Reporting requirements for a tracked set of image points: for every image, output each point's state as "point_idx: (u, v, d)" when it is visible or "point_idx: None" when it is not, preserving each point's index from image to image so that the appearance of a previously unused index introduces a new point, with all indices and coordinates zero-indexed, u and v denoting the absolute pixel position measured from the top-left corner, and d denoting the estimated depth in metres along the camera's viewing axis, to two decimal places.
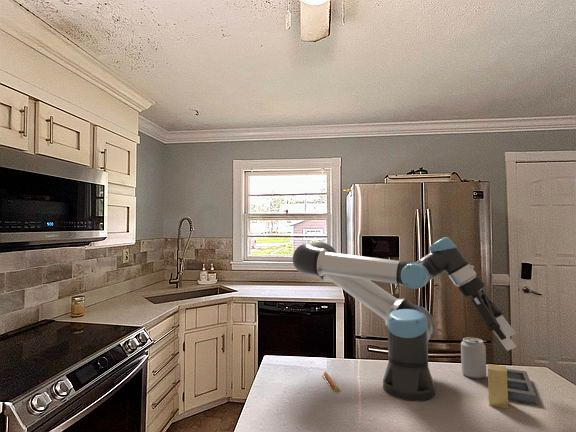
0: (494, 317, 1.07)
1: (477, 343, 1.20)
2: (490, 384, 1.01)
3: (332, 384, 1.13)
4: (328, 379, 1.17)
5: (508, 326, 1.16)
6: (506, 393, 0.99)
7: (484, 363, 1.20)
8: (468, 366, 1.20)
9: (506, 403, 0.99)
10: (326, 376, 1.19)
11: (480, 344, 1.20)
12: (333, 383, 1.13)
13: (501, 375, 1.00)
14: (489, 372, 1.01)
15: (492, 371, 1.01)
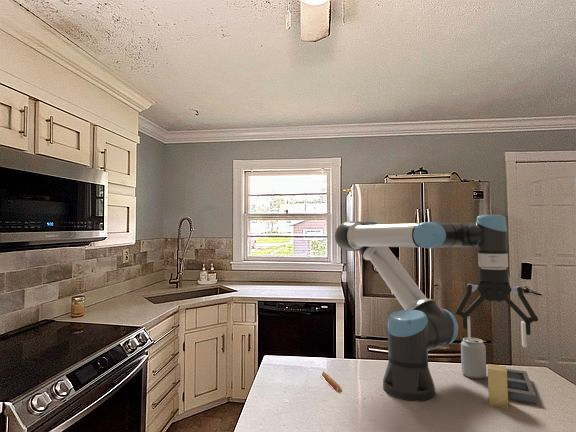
0: (470, 309, 1.05)
1: (477, 343, 1.20)
2: (490, 384, 1.01)
3: (333, 384, 1.13)
4: (328, 379, 1.17)
5: (522, 336, 0.99)
6: (506, 393, 0.99)
7: (484, 363, 1.20)
8: (468, 366, 1.20)
9: (506, 403, 0.99)
10: (325, 376, 1.19)
11: (480, 344, 1.20)
12: (335, 383, 1.13)
13: (501, 375, 1.00)
14: (489, 372, 1.01)
15: (492, 371, 1.01)
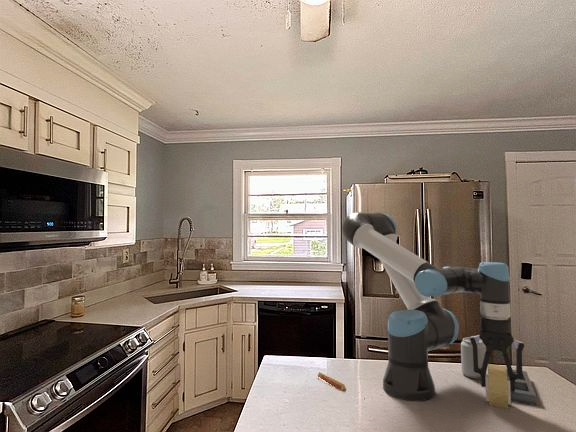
0: (484, 365, 1.03)
1: None
2: (490, 384, 1.01)
3: (336, 384, 1.13)
4: (327, 379, 1.17)
5: None
6: (506, 393, 0.99)
7: None
8: (468, 366, 1.20)
9: (506, 403, 0.99)
10: (323, 377, 1.19)
11: (480, 344, 1.20)
12: (337, 382, 1.13)
13: (501, 375, 1.00)
14: (489, 372, 1.01)
15: (492, 371, 1.01)
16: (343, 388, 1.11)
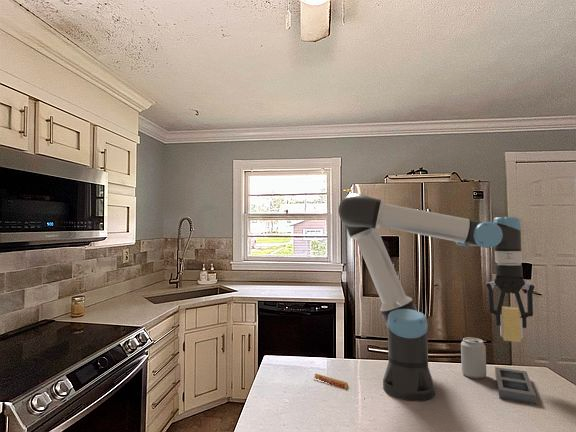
0: (499, 306, 1.17)
1: (477, 343, 1.20)
2: (504, 322, 1.16)
3: (338, 383, 1.14)
4: (327, 380, 1.16)
5: None
6: (519, 329, 1.14)
7: (484, 363, 1.20)
8: (468, 366, 1.20)
9: (519, 337, 1.14)
10: (321, 378, 1.18)
11: (480, 344, 1.20)
12: (339, 381, 1.14)
13: (514, 313, 1.14)
14: (504, 311, 1.16)
15: (506, 310, 1.15)
16: (347, 386, 1.12)
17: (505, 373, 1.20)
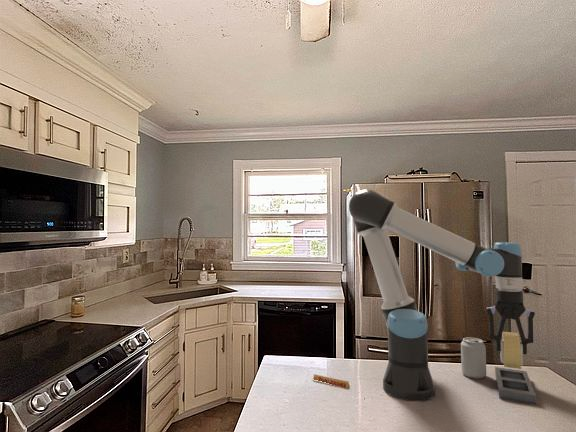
0: (499, 332, 1.17)
1: (477, 343, 1.20)
2: (505, 348, 1.15)
3: (339, 382, 1.14)
4: (327, 380, 1.16)
5: None
6: (519, 355, 1.14)
7: (484, 363, 1.20)
8: (468, 366, 1.20)
9: (519, 364, 1.13)
10: (320, 378, 1.17)
11: (480, 344, 1.20)
12: (340, 381, 1.14)
13: (515, 339, 1.14)
14: (504, 338, 1.16)
15: (506, 336, 1.15)
16: (348, 385, 1.13)
17: (505, 373, 1.20)
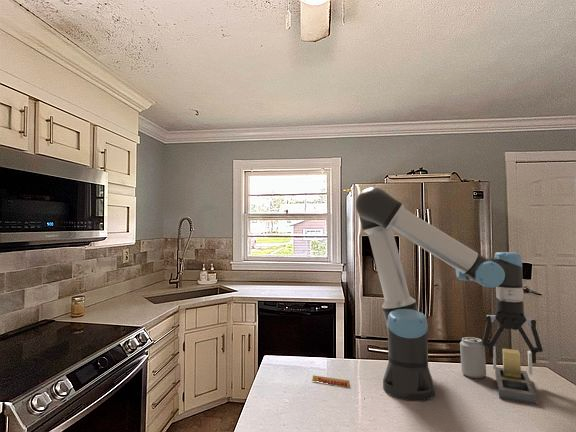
0: (493, 339, 1.18)
1: (476, 342, 1.20)
2: (505, 365, 1.15)
3: (340, 382, 1.14)
4: (327, 380, 1.16)
5: (529, 364, 1.14)
6: (519, 373, 1.13)
7: (483, 362, 1.20)
8: (468, 366, 1.20)
9: None
10: (320, 379, 1.17)
11: (479, 343, 1.20)
12: (341, 380, 1.15)
13: (515, 357, 1.14)
14: (505, 355, 1.15)
15: (507, 354, 1.15)
16: (349, 384, 1.14)
17: None
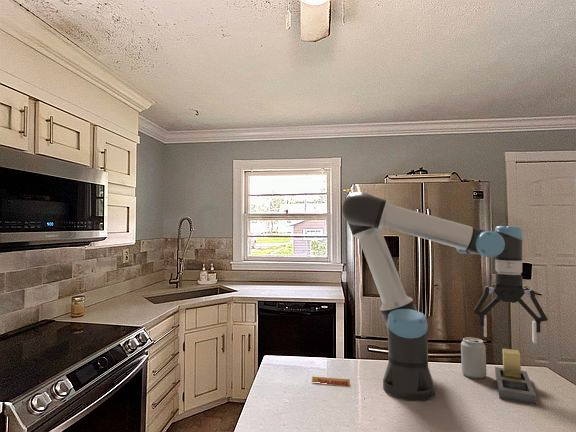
0: (486, 308, 1.19)
1: (477, 343, 1.20)
2: (505, 365, 1.15)
3: (340, 381, 1.15)
4: (327, 381, 1.16)
5: (533, 333, 1.13)
6: (519, 373, 1.13)
7: (484, 363, 1.20)
8: (468, 366, 1.20)
9: None
10: (320, 380, 1.16)
11: (480, 344, 1.20)
12: (341, 379, 1.15)
13: (515, 357, 1.14)
14: (505, 355, 1.15)
15: (507, 354, 1.15)
16: (349, 383, 1.15)
17: None
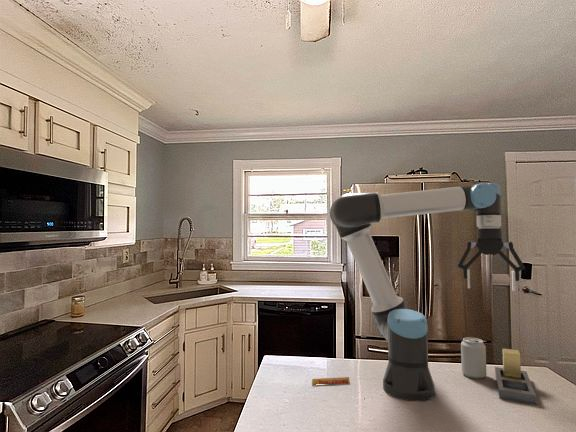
0: (469, 262, 1.27)
1: (477, 343, 1.20)
2: (505, 365, 1.15)
3: (340, 380, 1.16)
4: (328, 381, 1.15)
5: (512, 282, 1.21)
6: (519, 373, 1.13)
7: (484, 363, 1.20)
8: (468, 366, 1.20)
9: None
10: (321, 381, 1.15)
11: (480, 344, 1.20)
12: (341, 378, 1.16)
13: (515, 357, 1.14)
14: (505, 355, 1.15)
15: (507, 354, 1.15)
16: None
17: None
